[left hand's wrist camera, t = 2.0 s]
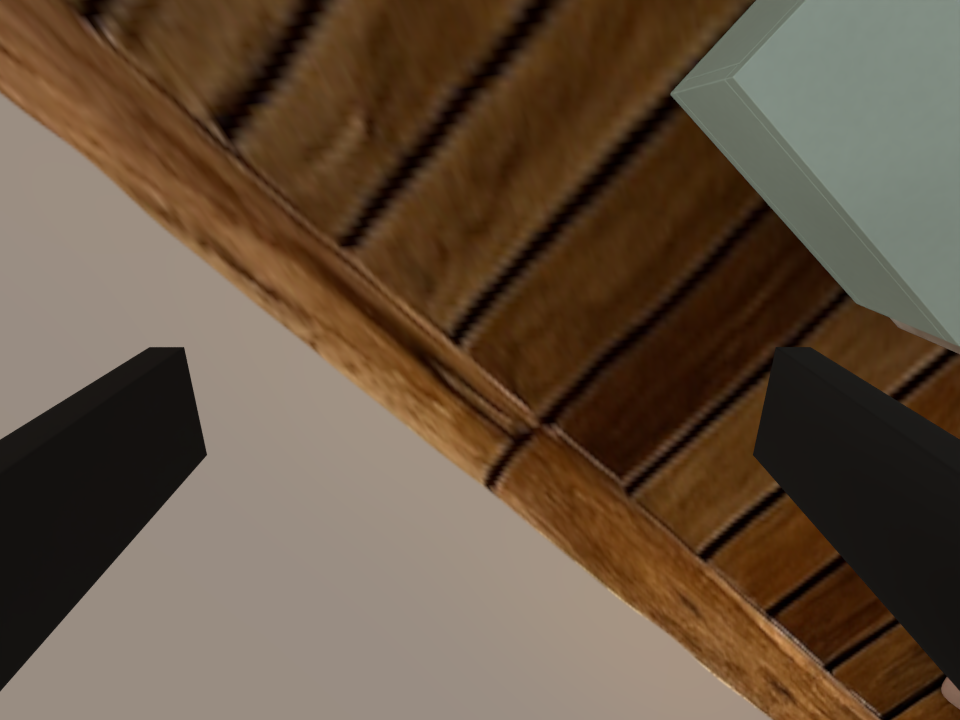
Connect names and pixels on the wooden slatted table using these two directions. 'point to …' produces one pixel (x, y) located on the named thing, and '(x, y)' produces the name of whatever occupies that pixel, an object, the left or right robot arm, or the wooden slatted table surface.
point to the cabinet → (850, 140)
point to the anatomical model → (951, 692)
